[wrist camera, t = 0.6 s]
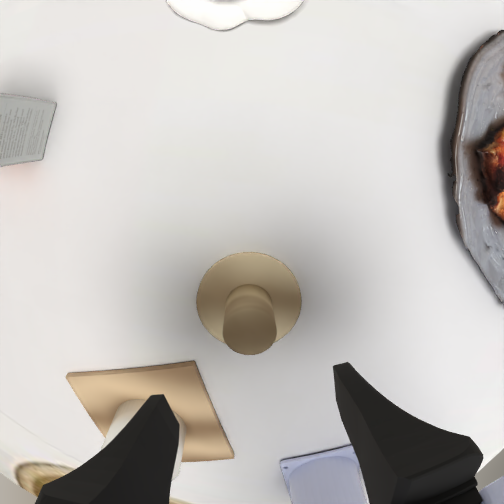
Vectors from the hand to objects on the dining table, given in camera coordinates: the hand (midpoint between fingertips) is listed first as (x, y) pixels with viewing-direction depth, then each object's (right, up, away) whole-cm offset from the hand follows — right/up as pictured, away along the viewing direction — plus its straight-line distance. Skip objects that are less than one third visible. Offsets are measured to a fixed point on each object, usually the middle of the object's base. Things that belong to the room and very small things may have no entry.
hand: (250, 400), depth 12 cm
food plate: (+25, +13, +7) cm, 29 cm away
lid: (0, +3, +9) cm, 10 cm away
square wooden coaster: (-9, -9, +12) cm, 18 cm away
